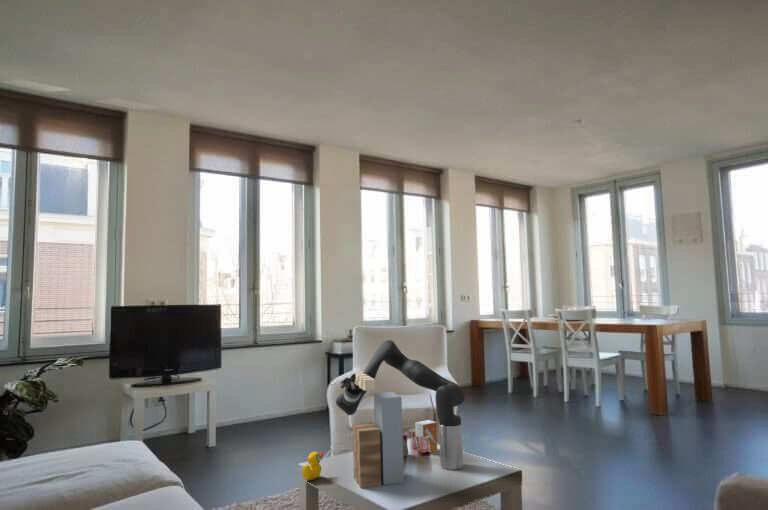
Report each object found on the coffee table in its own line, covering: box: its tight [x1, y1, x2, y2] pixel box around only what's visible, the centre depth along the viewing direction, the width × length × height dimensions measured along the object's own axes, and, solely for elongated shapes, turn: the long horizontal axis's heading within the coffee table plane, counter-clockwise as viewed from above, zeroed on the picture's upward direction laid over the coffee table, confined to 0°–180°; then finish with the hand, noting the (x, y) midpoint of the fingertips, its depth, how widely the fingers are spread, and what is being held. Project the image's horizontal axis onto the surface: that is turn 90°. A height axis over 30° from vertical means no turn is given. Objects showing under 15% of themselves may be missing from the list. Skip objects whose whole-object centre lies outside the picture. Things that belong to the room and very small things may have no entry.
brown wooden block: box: [352, 422, 382, 489], centre depth 194 cm, size 12×8×20 cm, turn 15°
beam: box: [352, 371, 376, 392], centre depth 199 cm, size 22×4×4 cm, turn 15°
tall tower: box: [373, 391, 405, 486], centre depth 197 cm, size 12×8×32 cm, turn 15°
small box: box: [414, 419, 438, 453], centre depth 231 cm, size 8×6×13 cm
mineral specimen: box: [403, 438, 409, 457], centre depth 225 cm, size 7×9×8 cm
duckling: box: [302, 451, 324, 481], centre depth 198 cm, size 11×5×10 cm, turn 150°
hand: (360, 375), depth 205 cm, fingers closed on beam, 4 cm apart
